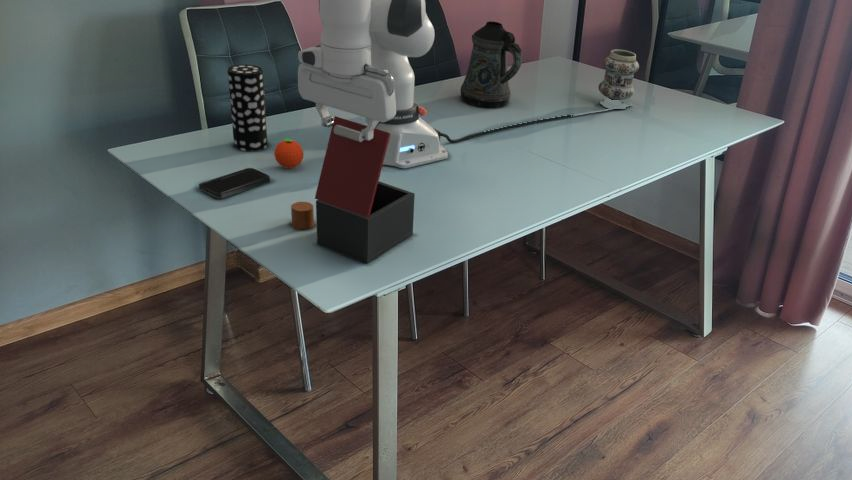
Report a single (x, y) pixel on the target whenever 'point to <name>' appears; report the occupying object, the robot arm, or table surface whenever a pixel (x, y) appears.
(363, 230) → the dark grey box
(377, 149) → the lid
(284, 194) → the table surface
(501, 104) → the beer stein
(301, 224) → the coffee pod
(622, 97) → the apothecary jar
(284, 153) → the clementine
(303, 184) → the table surface
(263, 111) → the white-spotted black cylinder
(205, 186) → the phone
